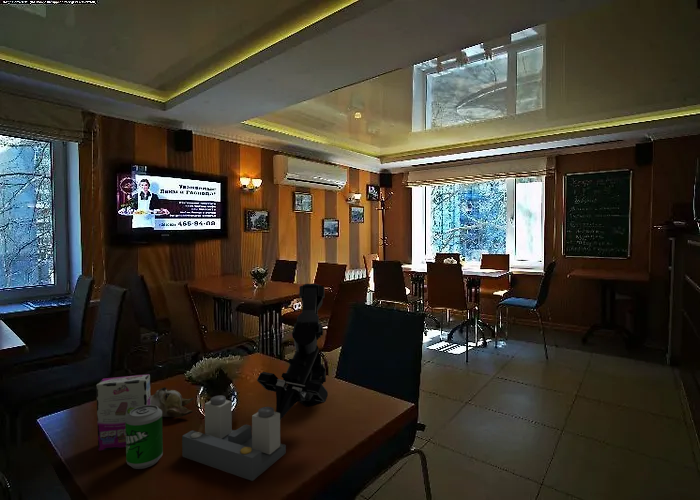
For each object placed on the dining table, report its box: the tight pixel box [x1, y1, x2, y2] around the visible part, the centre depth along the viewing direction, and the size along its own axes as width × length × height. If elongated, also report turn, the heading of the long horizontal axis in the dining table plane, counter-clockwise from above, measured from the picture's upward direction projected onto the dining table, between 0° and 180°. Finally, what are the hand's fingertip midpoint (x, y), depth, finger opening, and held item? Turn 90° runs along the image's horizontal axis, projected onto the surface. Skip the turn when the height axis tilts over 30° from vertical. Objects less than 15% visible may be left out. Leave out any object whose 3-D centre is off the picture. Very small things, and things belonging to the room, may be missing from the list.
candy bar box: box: [95, 373, 151, 452], centre depth 99 cm, size 11×5×16 cm, turn 105°
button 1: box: [204, 395, 233, 439], centre depth 99 cm, size 4×5×9 cm
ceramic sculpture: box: [150, 387, 194, 418], centre depth 114 cm, size 11×9×15 cm
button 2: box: [251, 406, 281, 455], centre depth 92 cm, size 4×5×9 cm
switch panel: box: [181, 424, 287, 482], centre depth 93 cm, size 12×21×5 cm, turn 64°
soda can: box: [125, 405, 164, 470], centre depth 91 cm, size 8×8×12 cm
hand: (278, 419), depth 96 cm, fingers closed
